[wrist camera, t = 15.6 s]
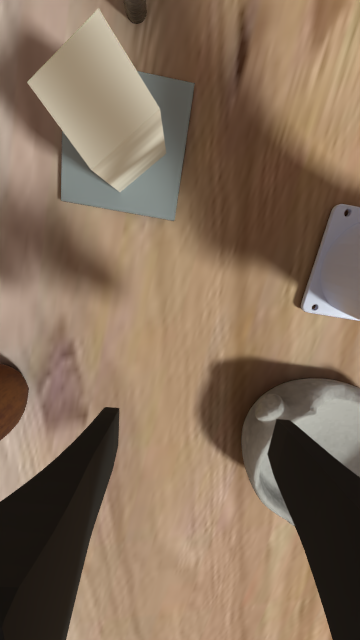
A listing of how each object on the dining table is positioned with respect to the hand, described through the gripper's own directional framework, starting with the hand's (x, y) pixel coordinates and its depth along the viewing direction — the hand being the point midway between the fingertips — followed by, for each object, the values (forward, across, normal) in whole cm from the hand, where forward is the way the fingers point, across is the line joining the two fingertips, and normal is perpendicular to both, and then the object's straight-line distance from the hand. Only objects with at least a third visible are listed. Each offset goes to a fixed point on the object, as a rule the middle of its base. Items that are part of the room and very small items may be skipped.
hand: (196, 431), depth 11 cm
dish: (+11, -13, +8) cm, 19 cm away
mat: (+10, +6, -14) cm, 18 cm away
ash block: (+10, +6, -14) cm, 18 cm away
